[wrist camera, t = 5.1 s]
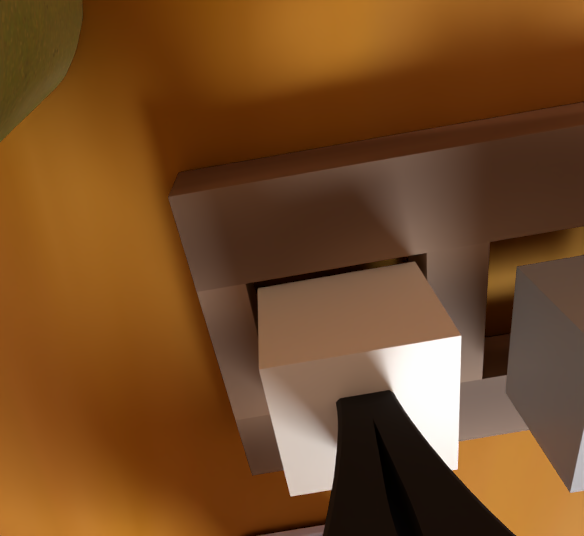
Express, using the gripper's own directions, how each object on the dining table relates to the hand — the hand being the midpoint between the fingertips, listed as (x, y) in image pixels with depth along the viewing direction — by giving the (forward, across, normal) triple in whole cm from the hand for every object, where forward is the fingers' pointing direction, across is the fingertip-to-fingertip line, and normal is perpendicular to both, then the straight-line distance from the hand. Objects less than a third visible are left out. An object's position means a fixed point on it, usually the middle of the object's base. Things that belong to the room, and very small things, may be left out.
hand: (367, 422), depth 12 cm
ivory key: (+4, 0, 0) cm, 4 cm away
